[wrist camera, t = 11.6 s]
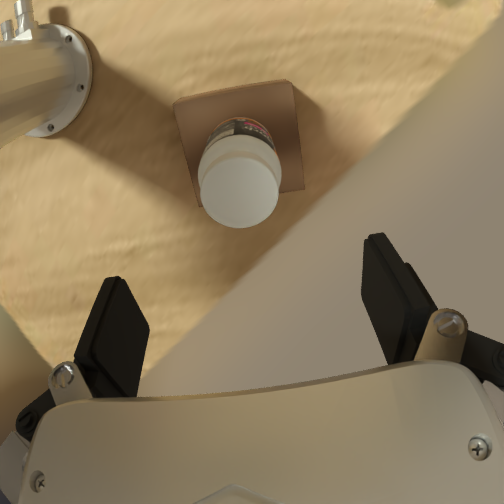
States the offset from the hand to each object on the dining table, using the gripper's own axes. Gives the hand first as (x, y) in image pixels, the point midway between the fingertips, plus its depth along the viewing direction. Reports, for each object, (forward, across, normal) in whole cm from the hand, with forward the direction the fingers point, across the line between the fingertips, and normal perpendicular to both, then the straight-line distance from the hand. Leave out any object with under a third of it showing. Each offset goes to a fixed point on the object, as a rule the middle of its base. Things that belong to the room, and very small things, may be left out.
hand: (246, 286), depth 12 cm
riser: (+22, 0, 0) cm, 22 cm away
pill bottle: (+18, 0, 0) cm, 18 cm away
